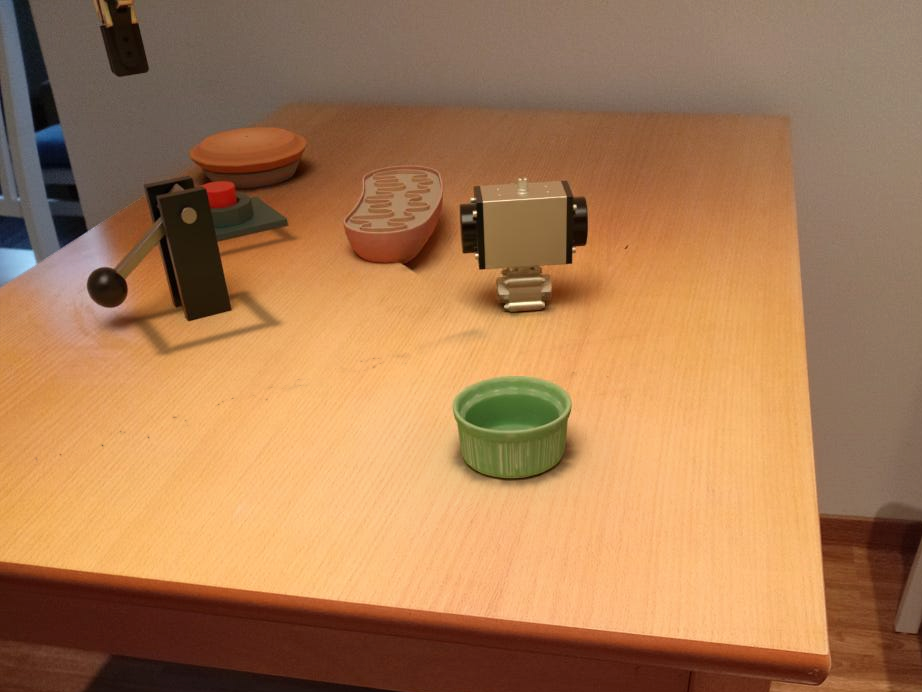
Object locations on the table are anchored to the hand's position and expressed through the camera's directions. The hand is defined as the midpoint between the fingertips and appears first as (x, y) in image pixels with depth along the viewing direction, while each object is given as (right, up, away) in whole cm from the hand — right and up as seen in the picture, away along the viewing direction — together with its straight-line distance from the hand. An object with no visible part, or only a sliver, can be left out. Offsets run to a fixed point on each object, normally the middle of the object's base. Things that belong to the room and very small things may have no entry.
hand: (130, 72), depth 95 cm
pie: (+2, +9, +42) cm, 43 cm away
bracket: (+6, -22, +6) cm, 23 cm away
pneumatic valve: (+37, -20, +6) cm, 43 cm away
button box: (+3, -6, +24) cm, 25 cm away
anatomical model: (+24, -8, +20) cm, 32 cm away
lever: (+2, -18, 0) cm, 18 cm away
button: (+3, -3, +21) cm, 22 cm away
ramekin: (+35, -39, -16) cm, 55 cm away
